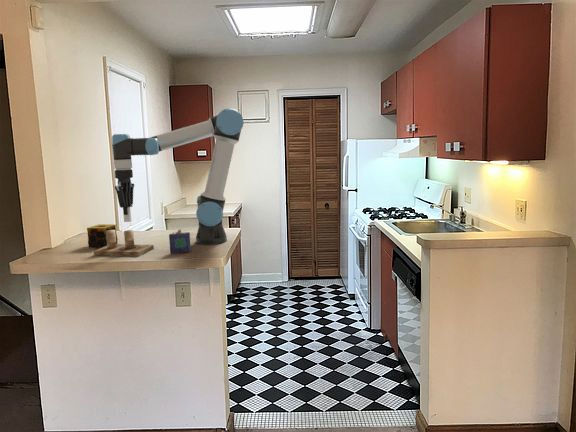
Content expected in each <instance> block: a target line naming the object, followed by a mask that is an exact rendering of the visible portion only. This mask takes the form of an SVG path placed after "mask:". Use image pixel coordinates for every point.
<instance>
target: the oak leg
mask: <svg viewBox="0 0 576 432" xmlns="http://www.w3.org/2000/svg"><path fill="white" fill-rule="evenodd" d="M123 235H124V244H125V249H134V248H135V246H134V245H135V235H134V230H133V229H127V230H124V231H123Z"/></svg>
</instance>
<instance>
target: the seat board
mask: <svg viewBox="0 0 576 432" xmlns="http://www.w3.org/2000/svg"><path fill="white" fill-rule="evenodd" d="M106 238H107V246H105V247H103V248H97V249H96V250H93V256H94V255H110V256H109V257H141V256H142V255H145V254H146V253H149V252H151V251H153V250H154V249H155V248H154V244H134V246H135V248H134V249H125V243H124V244H123V243H122V244H119V243H117V244H116V234H115V230H107V231H106Z"/></svg>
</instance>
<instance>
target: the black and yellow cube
mask: <svg viewBox="0 0 576 432" xmlns="http://www.w3.org/2000/svg"><path fill="white" fill-rule="evenodd" d="M107 230H115V234H116V244H118V240H119V238H118V233H117V226H116V224H111V223H110V224H108V223H107V224H96V225H92V226H90V227H86V231H87V244H88V245H87V246H88V248H90V249H100V248H103V247H105V246H107V238H106V231H107Z"/></svg>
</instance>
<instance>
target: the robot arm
mask: <svg viewBox="0 0 576 432" xmlns="http://www.w3.org/2000/svg"><path fill="white" fill-rule="evenodd" d="M244 123H245V122H244V118H243V115H242V113H241V112H239V110H237V109H235V108H229V107H228V108H223V109H221V111H219V113H217V115H215V116H212V117H209V118H208V120H205V121H201V122H199V123H195V124H191V125H188V126H183V127H181V128H178V129H174V130H171V131H170V130H169V131H168V132H167V131H166V132H164V133H160V134H158V135H157V134H156V135H154V136H151V137H150V136H149V137H140V138H139V137H136V138H131V137H130V134H128V133H118V134H117V133H116V134H115V133H114V134H112V136H111V143H112V144H111V146H112V147H111V148H112V155H113V167H114V169H115V170H114V178H115V179H117V185H115V186H114V189H115V192H116V195H117V200H118V204H119V207H120V208H122V211H123V222H124V223H130V222H132V214H131V213H132V211H131V208H132V207H133V206H134V205H133V204H134V187H135V183H132V180H131V179H132V178H133V177H134V176H133V175H134V173H133V169H132V168H133V163H132V161H133V160H132V156H155V155H158V154H159V153H160V152H162V151H166V150H169V149H173V148H177V147H179V146H184V145H186V144H190V143H193V142H197V141H200V140H204V139H207V138H210V137H214V140H215V143H214V147H213V151H212V157H211V162H210V166H209V170H208V175H207V180H206V185H205V190H204V191H203V192H202V193H200V195H198V196H197V198H196V204H197V209H196V213H195V214H196V218H197V220H198V221H197V222H198V228H197V230H196V231H197V232H196V235H195V242H196V244H199V245H215V244H216V243H217V244H221V243H225V242H227V238H228V237H227V236H228V235H227V234H226V232H225V229H224V226H223V218H224V217H223V216H224V208H225V203H226V197H225V196H224V193H225V189H226V185H227V180H228V176H229V171H230V166H231V162H232V158H233V157H232V156H233V153H234V148H235V145H236V144H238V143H239V141H240V137H241V134H242V133H241V132H242V129H243V128H244Z"/></svg>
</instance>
